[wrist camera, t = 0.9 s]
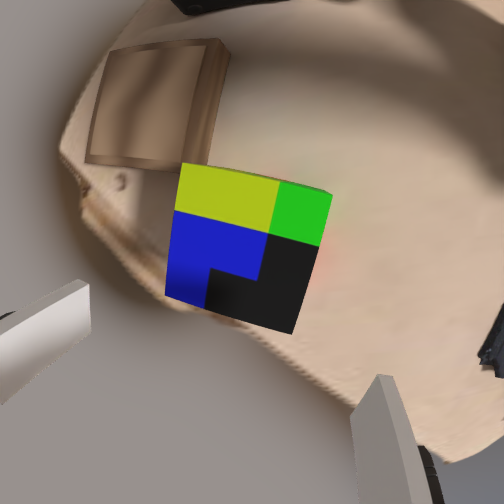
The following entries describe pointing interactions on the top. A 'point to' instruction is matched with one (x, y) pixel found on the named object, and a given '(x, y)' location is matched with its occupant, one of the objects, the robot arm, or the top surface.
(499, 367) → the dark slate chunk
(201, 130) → the plinth
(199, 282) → the puzzle toy
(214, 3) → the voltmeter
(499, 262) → the top surface
